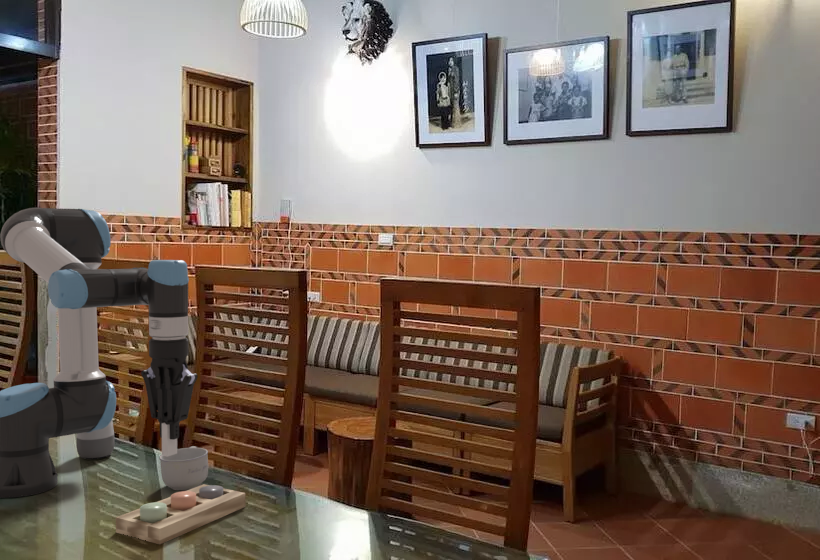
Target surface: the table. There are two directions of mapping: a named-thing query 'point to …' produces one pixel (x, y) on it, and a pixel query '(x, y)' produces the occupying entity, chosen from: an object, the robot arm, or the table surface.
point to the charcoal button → (211, 492)
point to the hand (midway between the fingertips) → (169, 454)
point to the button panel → (180, 517)
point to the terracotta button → (183, 500)
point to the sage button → (153, 512)
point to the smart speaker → (96, 443)
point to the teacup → (185, 468)
